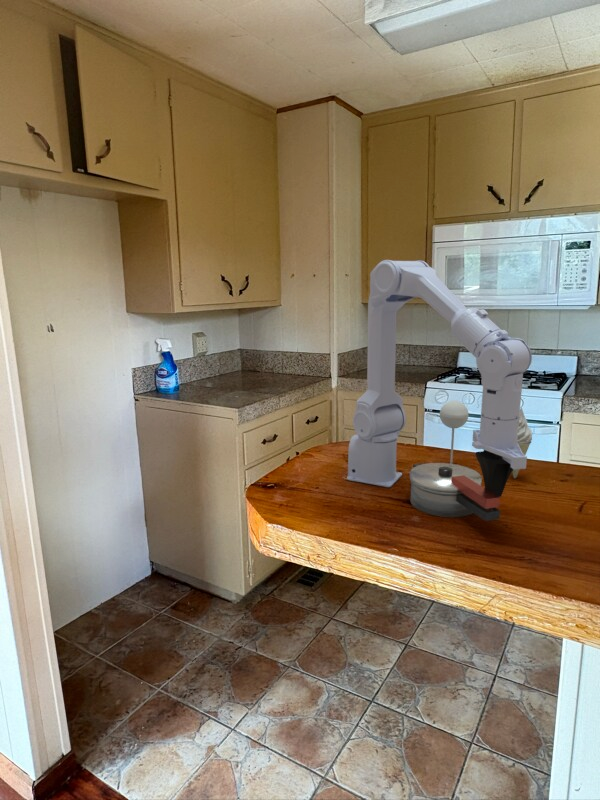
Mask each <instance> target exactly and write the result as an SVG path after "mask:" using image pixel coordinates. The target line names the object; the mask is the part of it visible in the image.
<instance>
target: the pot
mask: <svg viewBox="0 0 600 800" xmlns="http://www.w3.org/2000/svg"><path fill="white" fill-rule="evenodd" d="M422 464H427V463H426V462H422V463H413V465H412V468H414V467H416V466H418V465H422ZM409 479H410V478H409ZM409 481H410V503H411V505H412V506H413V508H415V509H417V510H418V511H420V512H423V513H425V514H428V515H433V516H437V517H443V518H461V517H466V516H470V515H472V514H473V515H474V514H475V515H476V516H478V517H479V518H481V519H482V520H483V521H485V522H488V521H495V520H500V516H501V510H500V509H498V507H494V508H487V509H486V508H484V507H483V506H481V505H480V504H478V503H477V502H475V501H474V500H472V499H471V498H469V497H468V496H466V495H465V494H463V493H462V492H440V491H434V490H430V489H426V488H423V487H421V486H418V485H416V484H415V483H413V482H412V481H411V479H410V480H409Z"/></svg>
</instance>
